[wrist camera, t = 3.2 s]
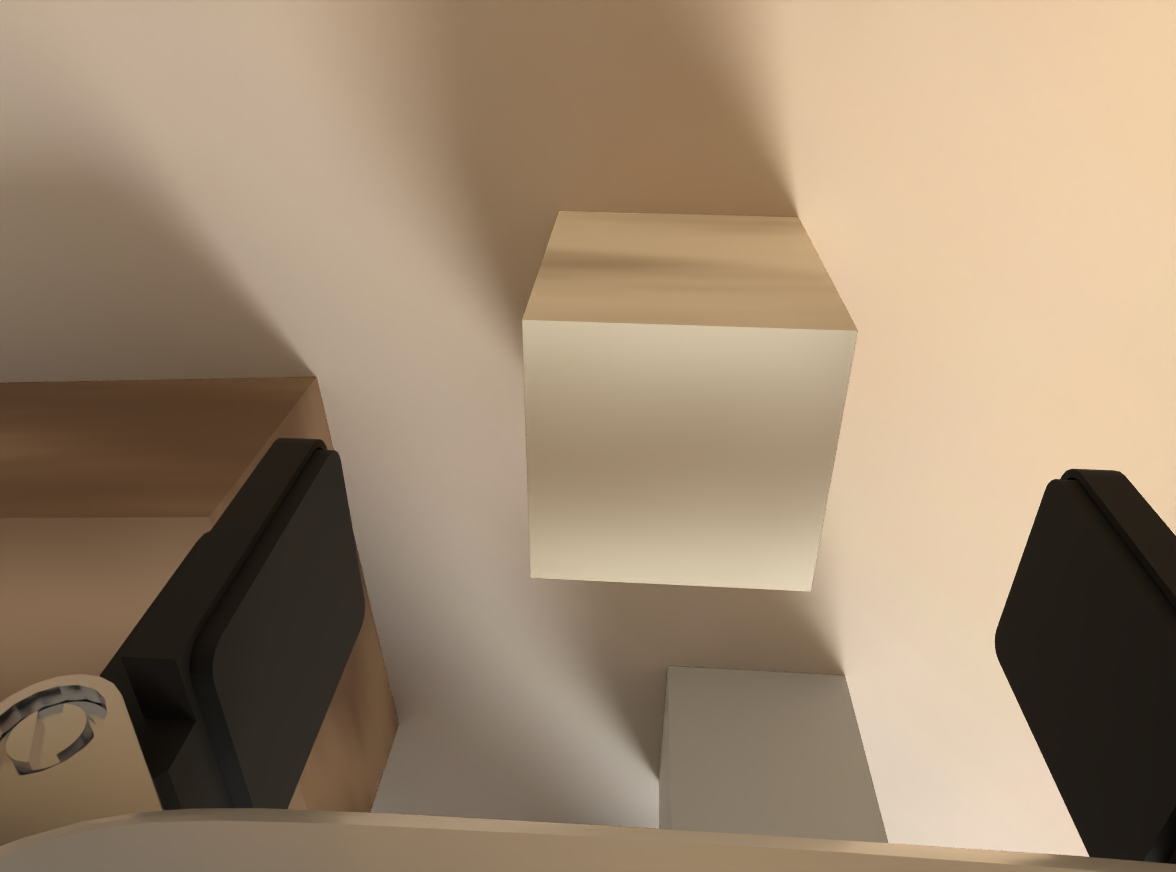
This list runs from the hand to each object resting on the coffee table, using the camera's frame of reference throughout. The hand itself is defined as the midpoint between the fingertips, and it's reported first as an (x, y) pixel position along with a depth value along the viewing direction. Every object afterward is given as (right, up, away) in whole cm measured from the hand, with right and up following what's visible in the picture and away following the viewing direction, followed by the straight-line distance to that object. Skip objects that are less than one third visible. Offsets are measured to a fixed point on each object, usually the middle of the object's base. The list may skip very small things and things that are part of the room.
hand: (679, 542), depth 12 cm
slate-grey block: (+3, -7, +14) cm, 16 cm away
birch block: (+1, +4, +8) cm, 9 cm away
